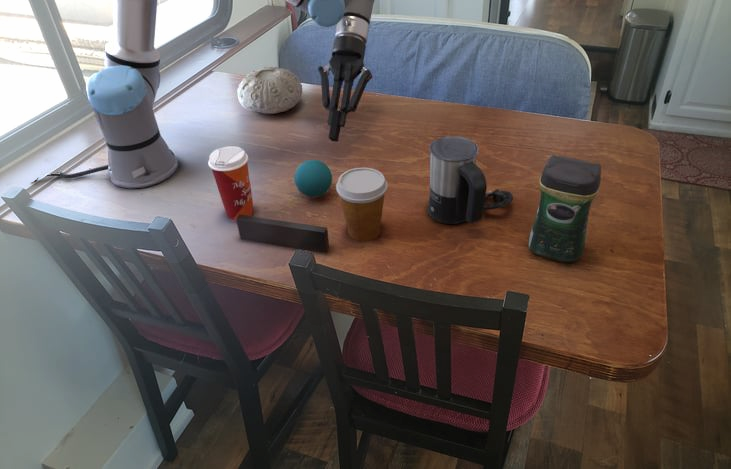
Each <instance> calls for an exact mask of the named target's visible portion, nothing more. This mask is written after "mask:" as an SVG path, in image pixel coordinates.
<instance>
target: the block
mask: <svg viewBox="0 0 731 469" xmlns="http://www.w3.org/2000/svg"><path fill="white" fill-rule="evenodd" d="M235 222H236V226H237V230H238V235H239V239H240V240H242V241H243V240H244V241H248V242H249V241H250V242H255V243H261V244H267V245H274V246H280V247H285V248H286V247H287V248H292V249H298V250H304V251H305V250H306V251H311V252H316V253H324V254H327V253H328V251H329V250H330V242H329V232H328V231H329V230H328V227H327V226H321V225H314V224H307V223H301V222H293V221H286V220H281V219H273V218H267V217H260V216H254V215H252V216H247V215H241V214H239V216H238V217H237V218H236V221H235Z"/></svg>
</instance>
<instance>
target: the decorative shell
mask: <svg viewBox="0 0 731 469" xmlns="http://www.w3.org/2000/svg"><path fill="white" fill-rule="evenodd" d="M302 95H303V84H302V83H301V80H300V79H299V77H298V76H297V75H296V73H294V72H292V71H291V70H290V69H285V68H282V67H277V66H275V67H273V66H267V67H266V66H265V67H264V66H263V67H262V68H259V69H256V70H252V71H251V72H248V74H246V75H245V76H244V77H243V78H242V80H241V82H240V83H238V87H237V98H238V99H237V100H238V101H239V104H240V105H241V106H242V107H243V109H245V110H247V111H250V112H253V113H262V114H275V115H276V114H281V113H282V112H283V113H284V112H287V111H288V110H290V109H293V108H294V107H295V106H296V105H297V104H298V103H299V102H300V101H301V98H302Z"/></svg>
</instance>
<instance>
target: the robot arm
mask: <svg viewBox="0 0 731 469" xmlns="http://www.w3.org/2000/svg"><path fill="white" fill-rule="evenodd" d="M284 1H285V2H287V3H289V4H291V5H292V6H294V7H295V8H297V9H298V10H300V11H302V12H303V13H305V14H307V15H308V16H309V17H310V19H311V20H312V21H313V22H314V23H315V24H317V25H318V26H320V27H323V28H331V27H334V26H336V28H335V35H334V40H333V44H332V50H331V57H330V59H329V60H328V62H327V64H326V65H324V66H322V65H320V66H318V67H317V71H318V73H319V75H320V84H321V85H320V87H321V104H322V106H323V107H324V109H325V110H326V111H328V117H327V124H328V126H330V128H329V133H328V139H329V140H330V141H331V142H336V143H337V142H339V139H340V132H341V128H345V126H346V123H347V122H346V121H347V115H348V114H350V113H355V112H356V110H357V108H358V106H359V103H360V102H361V99H362V96H363V94H364V91H365V89H366V88H367V87H366V86H367V84H368V83H369V82H370V81H371V79H372V78H373V73H372V72H371V70H370V69H367V68H366V67H365V64H364V60H365V54H366V49H367V45H366V44H367V43H368V38H369V30H370V24H371V18H372V13H373V8H374V3H375V0H284ZM157 12H158V0H114V1H113V28H112V29H113V32H112V40H110V41H109V42H107V43H106V44H105V45H104V46H105V49H104V68H101V69H100V70H98V72H94V73H93V74H92V75H91V76H90V77H89V78H88V79H87V81H86V84H85V88H86V94H87V99H88V103H89V104H90V106H91V108H92V110H93V113H94V116H95V118H96V121H97V123H98V126H99V129H100V131H101V133H102V136H103V139H104V141H105V144H106V147H107V160H108V164H105V165H102V166H97V167H93V168H90V169H86V170H83V171H79V172H75V173H66V172H63V171H59V172H60V174H51V175H47V176H46V177H62V178H64V179H75V178H81V177H84V176H87V175H91V174H95V173H99V172H102V171H108V175H109V178H110V180H111V182H112V184H114V185H115V186H117V187H120V188H124V189H142V188H147V187H152V186H154V185H157V184H159V183H162V182H164V181H166V180H167V179H169V178H170V177H172V175H174V174H175V172H176V171H177V170H178V166H179V163H178V160H177V157H176V154H175V153H174V151H173V150H172V149H170V147H169V145H168V144H167V142H166V141H165V139H164V138H163V137H162V135H161V132H160V129H159V125H158V122H157V119H156V115H155V112H154V104H155V101H156V96H157V93H158V90H159V88H160V85H161V72H160V63H161V54H160V52H159V51H158V49H156V47H155V38H156V35H155V34H156V24H157ZM330 72H331V73H332V75H333V84H332V90H331V91H330V79H329V76H330ZM359 75H360V77H359ZM358 77H359V79H358V81H357V84H356V86H355V89H354V91H353V93H352V90H353V87H354V83H355V82H354V81H355V80H356V79H357V78H358ZM342 86H343V89H342ZM330 92H331V93H330ZM341 92H342V95H341ZM340 98H341V99H340ZM340 100H341V101H340ZM339 103H340V106H339ZM338 109H339V110H338Z"/></svg>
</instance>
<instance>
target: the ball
mask: <svg viewBox="0 0 731 469" xmlns="http://www.w3.org/2000/svg"><path fill="white" fill-rule="evenodd" d="M293 178H294V185H295V187H296V189H297V190H298V192H300V193H301V194H302V195H303V196H306V197H309V198H319V197H322V196H324V195H325V194H326V193H328V191H329V190H330V189H331V186H332V183H333V173H332V171H331V168H329V166H328V165H327V164H326V163H325V162H323V161H321V160H320V159H319V160H318V159H308V160H305V161H303V162H302V163H301V164H299V165H298V167H297V168H296V170H295V173H294V177H293Z"/></svg>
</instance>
